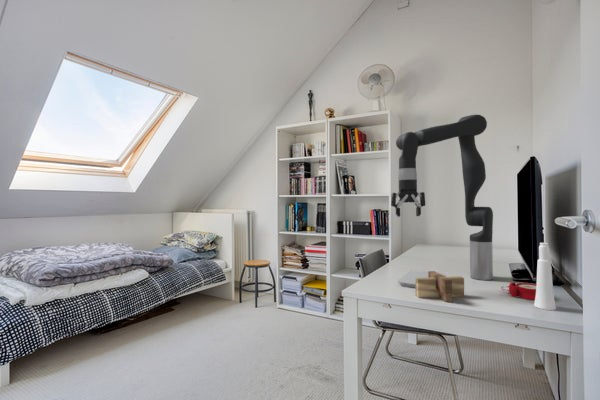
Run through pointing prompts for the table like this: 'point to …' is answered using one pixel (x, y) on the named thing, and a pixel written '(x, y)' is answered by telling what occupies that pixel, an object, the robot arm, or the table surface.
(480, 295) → the table surface
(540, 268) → the cosmetic bottle
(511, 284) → the alarm clock
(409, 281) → the tablet
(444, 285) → the walnut cross plate
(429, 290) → the oak slotted rail
